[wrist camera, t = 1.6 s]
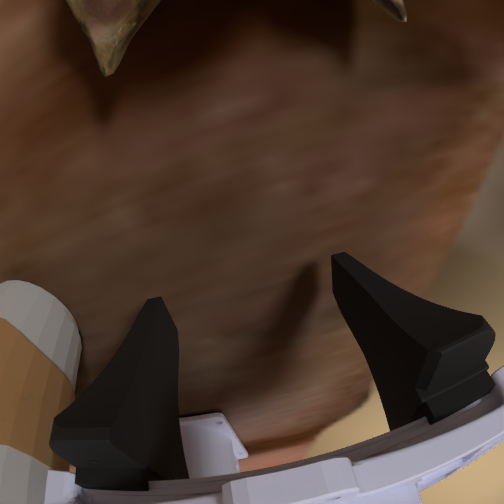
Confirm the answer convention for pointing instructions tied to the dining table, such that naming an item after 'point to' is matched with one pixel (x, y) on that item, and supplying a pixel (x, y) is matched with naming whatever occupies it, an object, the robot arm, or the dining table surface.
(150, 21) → the dining table surface
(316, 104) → the dining table surface
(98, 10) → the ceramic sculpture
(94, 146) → the dining table surface
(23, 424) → the coffee cup
